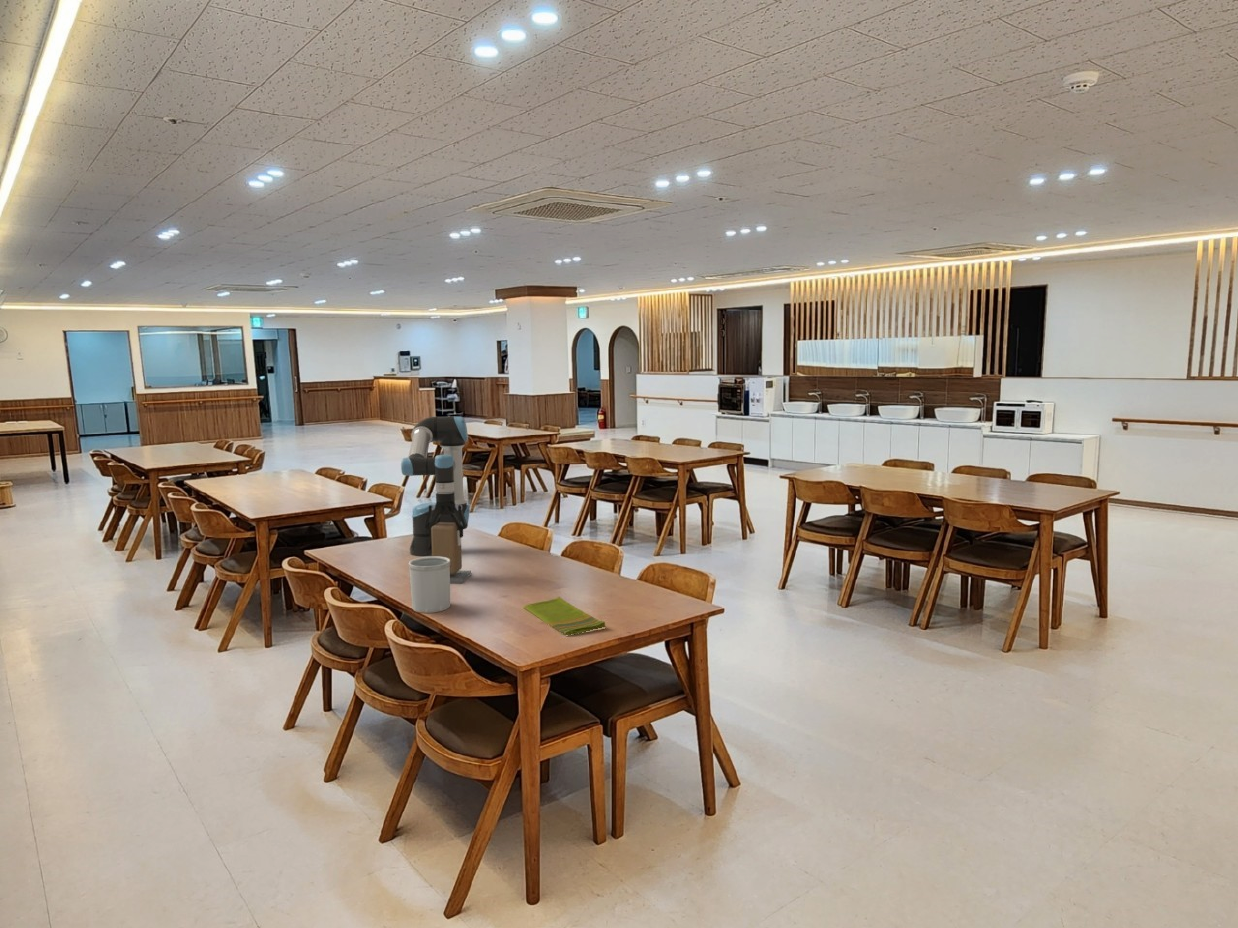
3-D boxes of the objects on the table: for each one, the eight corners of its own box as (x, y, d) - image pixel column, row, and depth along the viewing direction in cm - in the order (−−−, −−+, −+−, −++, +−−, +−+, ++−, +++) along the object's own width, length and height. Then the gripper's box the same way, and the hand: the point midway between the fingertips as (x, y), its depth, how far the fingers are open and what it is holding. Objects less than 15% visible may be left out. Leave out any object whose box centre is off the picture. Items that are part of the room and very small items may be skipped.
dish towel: (566, 638, 259) (566, 629, 259) (522, 609, 290) (522, 601, 289) (607, 630, 267) (607, 621, 266) (560, 603, 297) (560, 595, 297)
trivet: (434, 572, 339) (434, 569, 339) (471, 573, 338) (471, 570, 338) (423, 582, 323) (422, 579, 323) (461, 583, 322) (461, 580, 322)
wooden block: (462, 568, 335) (461, 522, 332) (455, 574, 325) (454, 527, 323) (439, 567, 336) (438, 521, 333) (431, 574, 326) (430, 526, 324)
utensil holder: (430, 616, 281) (429, 568, 279) (401, 609, 289) (399, 562, 286) (459, 605, 293) (458, 559, 291) (431, 599, 301) (429, 554, 299)
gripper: (415, 493, 323) (417, 546, 326) (469, 494, 322) (471, 547, 325) (421, 490, 331) (422, 542, 334) (474, 491, 329) (475, 543, 332)
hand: (446, 544), depth 329 cm, fingers closed on wooden block, 10 cm apart
